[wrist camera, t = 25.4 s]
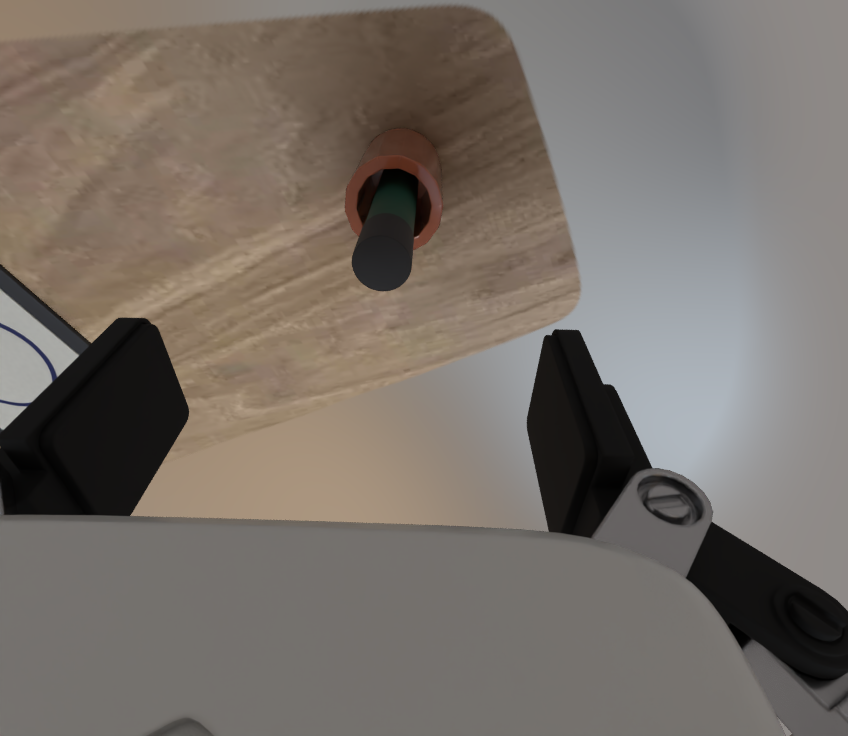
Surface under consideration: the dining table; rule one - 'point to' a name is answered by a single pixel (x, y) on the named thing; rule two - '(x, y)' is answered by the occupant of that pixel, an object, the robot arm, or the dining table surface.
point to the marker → (388, 233)
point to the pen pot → (410, 156)
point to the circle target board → (30, 347)
